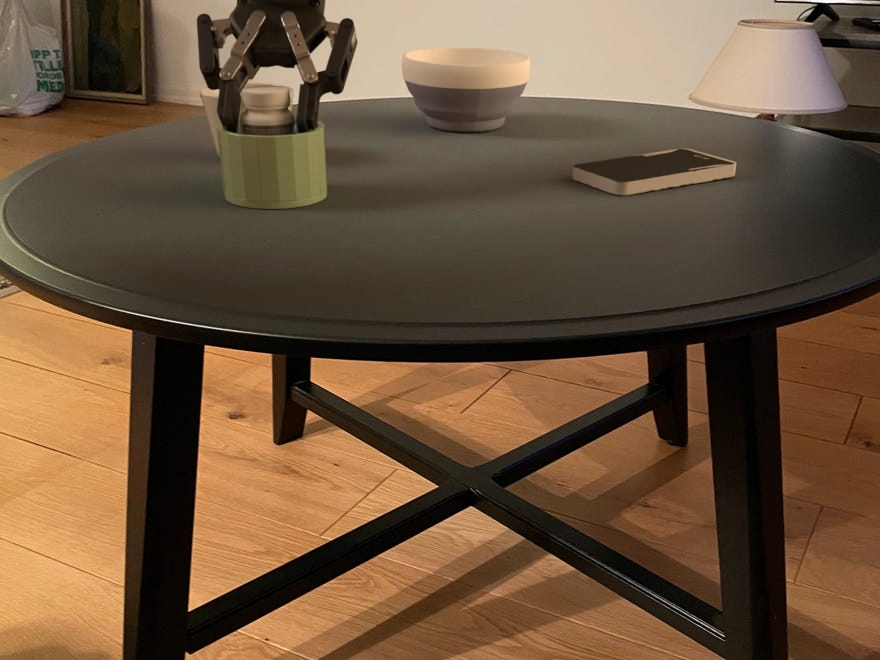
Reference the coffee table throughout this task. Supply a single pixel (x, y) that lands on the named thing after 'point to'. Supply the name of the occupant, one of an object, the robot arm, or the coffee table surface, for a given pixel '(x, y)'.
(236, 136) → the cup
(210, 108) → the beige tapered pot
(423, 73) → the bowl
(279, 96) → the pill bottle
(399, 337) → the coffee table surface
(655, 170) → the smartphone
